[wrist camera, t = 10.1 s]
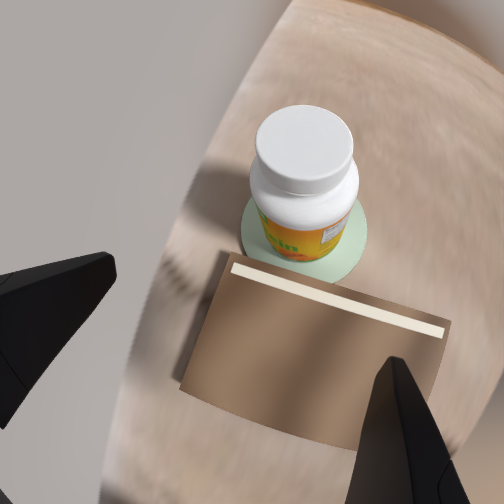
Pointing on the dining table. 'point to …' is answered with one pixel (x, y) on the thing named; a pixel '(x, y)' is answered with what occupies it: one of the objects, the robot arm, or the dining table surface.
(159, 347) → the dining table surface
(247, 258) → the walnut board
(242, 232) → the end pad
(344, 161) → the supplement bottle
